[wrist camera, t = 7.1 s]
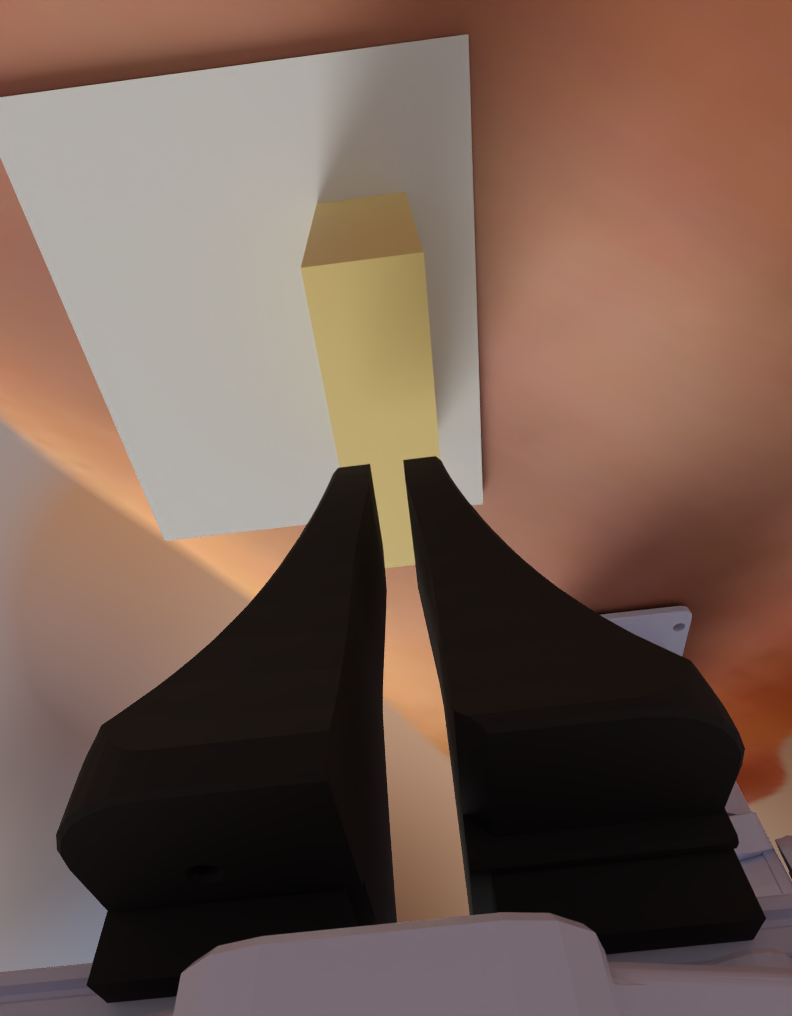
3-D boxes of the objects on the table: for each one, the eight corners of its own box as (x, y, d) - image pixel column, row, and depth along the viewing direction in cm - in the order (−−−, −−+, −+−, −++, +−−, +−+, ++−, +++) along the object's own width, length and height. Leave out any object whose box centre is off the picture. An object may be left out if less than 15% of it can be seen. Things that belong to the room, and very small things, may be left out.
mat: (481, 496, 24) (483, 503, 23) (167, 532, 24) (165, 540, 24) (465, 34, 15) (468, 34, 15) (-15, 99, 16) (-24, 100, 15)
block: (428, 445, 22) (448, 560, 17) (359, 453, 22) (360, 571, 17) (404, 191, 17) (424, 252, 12) (316, 203, 17) (301, 268, 12)
